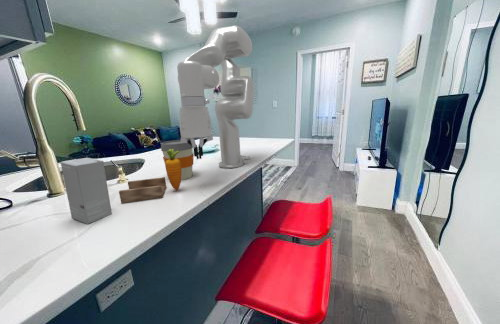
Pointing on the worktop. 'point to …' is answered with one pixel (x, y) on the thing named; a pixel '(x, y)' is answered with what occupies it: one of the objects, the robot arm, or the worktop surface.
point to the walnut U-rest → (143, 190)
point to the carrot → (173, 169)
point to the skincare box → (86, 189)
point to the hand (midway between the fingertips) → (199, 158)
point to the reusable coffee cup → (180, 155)
